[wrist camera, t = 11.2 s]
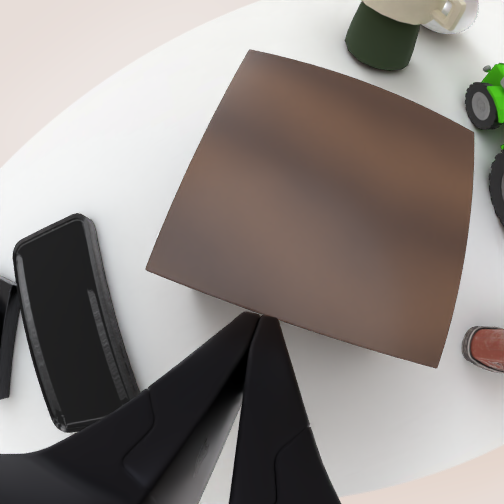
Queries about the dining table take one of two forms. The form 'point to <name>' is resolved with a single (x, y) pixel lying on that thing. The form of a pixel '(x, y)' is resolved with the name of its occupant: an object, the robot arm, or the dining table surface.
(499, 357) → the lighter
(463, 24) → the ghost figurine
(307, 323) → the lid
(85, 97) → the dining table surface
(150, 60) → the dining table surface
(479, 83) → the toy tractor
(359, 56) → the cream and green trophy
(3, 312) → the button base
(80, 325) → the phone
